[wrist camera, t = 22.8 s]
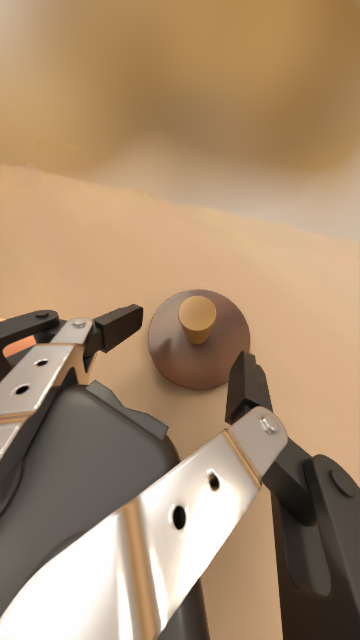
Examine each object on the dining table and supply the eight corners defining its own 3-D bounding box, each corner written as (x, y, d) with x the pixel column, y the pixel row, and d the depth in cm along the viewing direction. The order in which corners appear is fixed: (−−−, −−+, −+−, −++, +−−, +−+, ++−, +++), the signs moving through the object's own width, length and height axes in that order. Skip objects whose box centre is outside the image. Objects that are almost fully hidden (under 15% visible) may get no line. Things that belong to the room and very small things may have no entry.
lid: (138, 317, 19) (99, 286, 12) (213, 280, 20) (224, 226, 12) (174, 408, 15) (152, 453, 7) (268, 357, 16) (339, 350, 8)
